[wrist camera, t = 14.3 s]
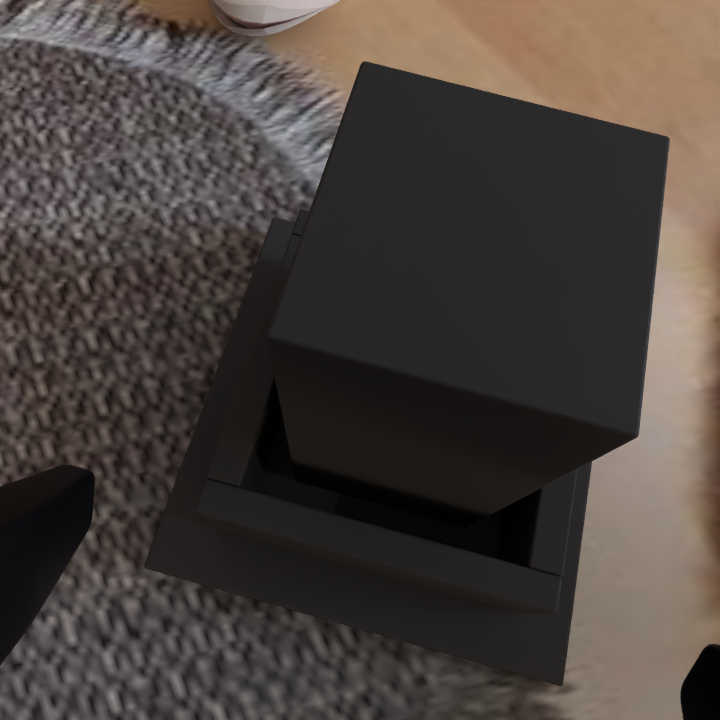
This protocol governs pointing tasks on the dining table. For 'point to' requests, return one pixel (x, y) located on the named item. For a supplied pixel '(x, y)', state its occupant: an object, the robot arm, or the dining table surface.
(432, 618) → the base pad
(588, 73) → the dining table surface
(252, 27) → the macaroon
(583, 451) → the black pad block
